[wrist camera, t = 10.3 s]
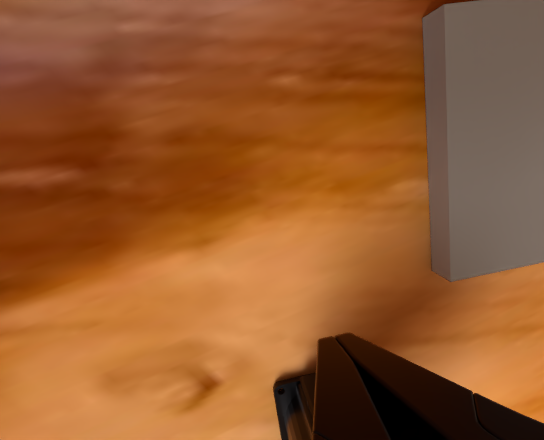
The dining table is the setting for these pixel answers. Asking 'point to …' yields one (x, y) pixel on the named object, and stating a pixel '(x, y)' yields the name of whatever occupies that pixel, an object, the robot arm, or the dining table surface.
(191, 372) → the dining table surface
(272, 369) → the dining table surface
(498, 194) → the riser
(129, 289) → the dining table surface
